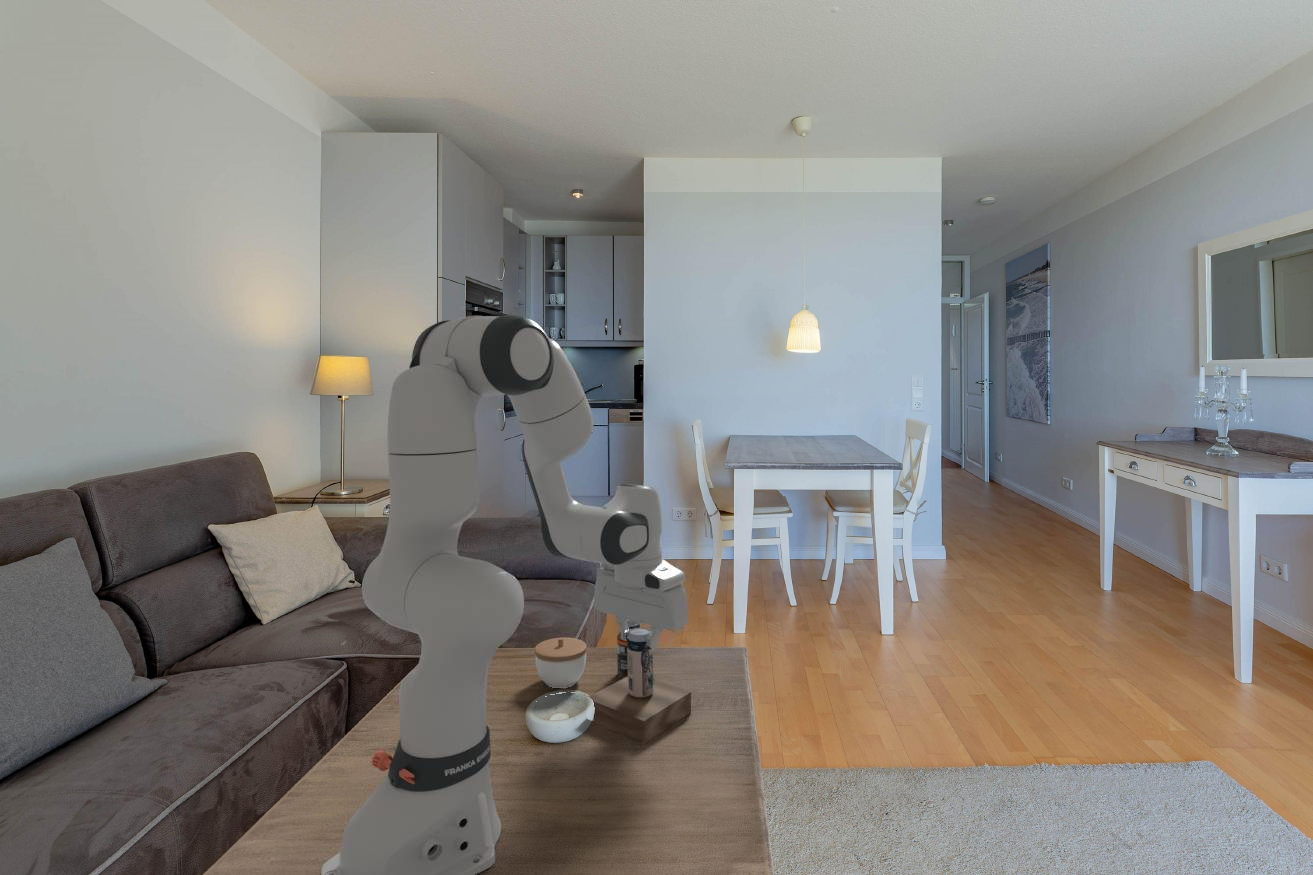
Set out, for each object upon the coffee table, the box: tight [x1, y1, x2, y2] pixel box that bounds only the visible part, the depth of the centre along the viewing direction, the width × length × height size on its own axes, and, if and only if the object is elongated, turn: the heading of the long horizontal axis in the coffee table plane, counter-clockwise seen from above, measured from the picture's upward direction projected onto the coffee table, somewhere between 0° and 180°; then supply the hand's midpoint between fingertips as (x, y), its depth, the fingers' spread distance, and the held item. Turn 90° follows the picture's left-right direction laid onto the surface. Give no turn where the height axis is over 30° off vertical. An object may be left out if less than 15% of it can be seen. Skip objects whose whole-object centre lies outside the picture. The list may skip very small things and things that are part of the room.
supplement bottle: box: [616, 619, 641, 679], centre depth 140 cm, size 6×6×11 cm
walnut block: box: [588, 676, 692, 744], centre depth 122 cm, size 14×14×4 cm
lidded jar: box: [534, 637, 588, 690], centre depth 137 cm, size 11×11×9 cm
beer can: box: [627, 627, 654, 698], centre depth 122 cm, size 5×5×12 cm
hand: (639, 643), depth 122 cm, fingers closed on beer can, 5 cm apart
